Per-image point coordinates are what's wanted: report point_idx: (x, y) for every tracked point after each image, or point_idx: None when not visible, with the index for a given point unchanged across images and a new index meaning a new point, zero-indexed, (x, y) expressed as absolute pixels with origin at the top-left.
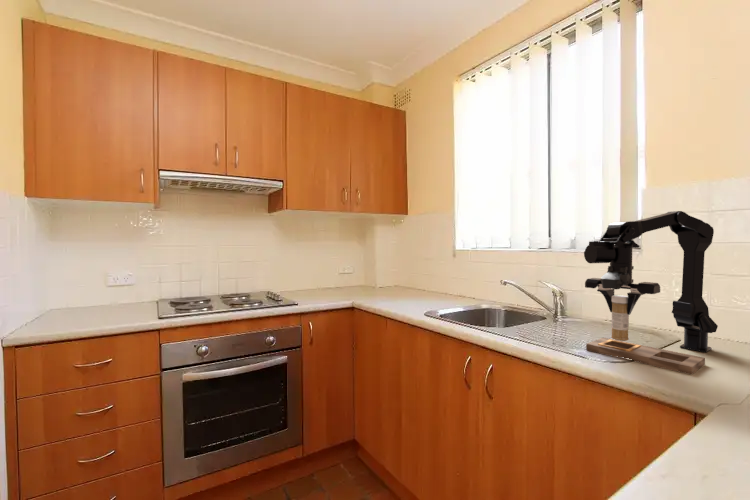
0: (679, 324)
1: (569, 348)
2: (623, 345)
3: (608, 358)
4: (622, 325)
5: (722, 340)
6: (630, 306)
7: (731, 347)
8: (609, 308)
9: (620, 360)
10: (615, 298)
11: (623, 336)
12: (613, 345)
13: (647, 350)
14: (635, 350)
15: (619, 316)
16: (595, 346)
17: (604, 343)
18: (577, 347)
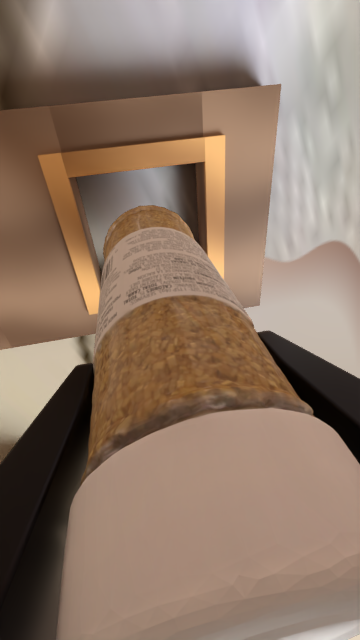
0: None
1: (347, 16)
2: None
3: (97, 10)
4: (115, 259)
5: None
6: (10, 458)
7: None
8: (298, 349)
9: (36, 43)
10: (298, 520)
11: (112, 234)
12: None
13: (24, 272)
14: (46, 216)
15: (140, 282)
16: (222, 90)
17: (205, 185)
18: (315, 100)
